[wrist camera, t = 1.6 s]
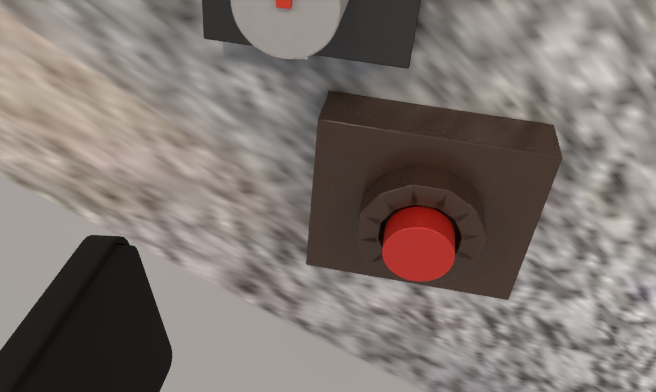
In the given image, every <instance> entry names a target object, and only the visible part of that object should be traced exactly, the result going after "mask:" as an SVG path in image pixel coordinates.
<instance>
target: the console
mask: <svg viewBox="0 0 656 392" xmlns="http://www.w3.org/2000/svg"><path fill="white" fill-rule="evenodd" d="M420 3H421V0H349V1H348V4H347V6H346V9H345V11H344V13H343V16H342V18H341V21H340V23H339V26H338V28H337V30H336V32H335V34H334V36H333V37H332V39H331V40H330V42H329V43H328V44H327V45H326V46H325V47H324V48H323V49H321V50H320V51H318V52H317V53H315V54H313V55H319V56H326V57H333V58H340V59H346V60H353V61H360V62H367V63H374V64H380V65H387V66H394V67H401V68H409V65H410V59H411V53H412V48H413V42H414V36H415V31H416V25H417V20H418V14H419V8H420ZM202 7H203V29H204V38H205V39H210V40H217V41H224V42H231V43H237V44H244V45H251V46H253V45H252V44H251V43H250V42H249V41H248V40H247V39H246V38H245V36H244V35H243V34H242V33H241V31H240V29H239V28H238V26H237V24H236V22H235V19H234V16H233V13H232V8H231V0H202ZM300 59H308V57H305V58H300Z"/></svg>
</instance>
